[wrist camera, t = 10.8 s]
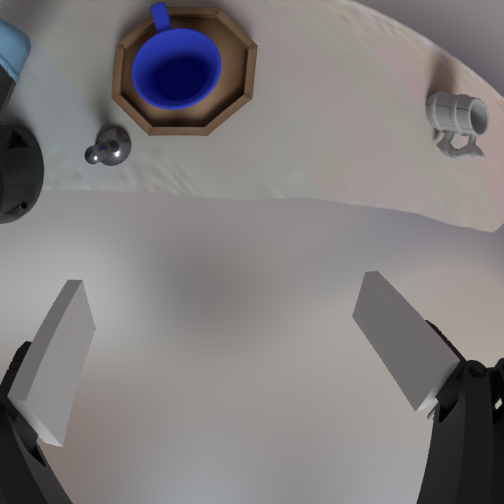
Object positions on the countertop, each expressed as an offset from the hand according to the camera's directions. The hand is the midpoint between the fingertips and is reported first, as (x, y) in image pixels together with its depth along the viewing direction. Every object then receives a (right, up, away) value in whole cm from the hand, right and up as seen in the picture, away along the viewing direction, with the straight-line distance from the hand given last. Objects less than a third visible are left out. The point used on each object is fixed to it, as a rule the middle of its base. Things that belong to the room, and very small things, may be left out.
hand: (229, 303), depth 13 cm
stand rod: (-17, +16, +21) cm, 32 cm away
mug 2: (+34, +25, +27) cm, 50 cm away
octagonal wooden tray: (-8, +25, +18) cm, 32 cm away
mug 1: (-8, +25, +17) cm, 31 cm away
